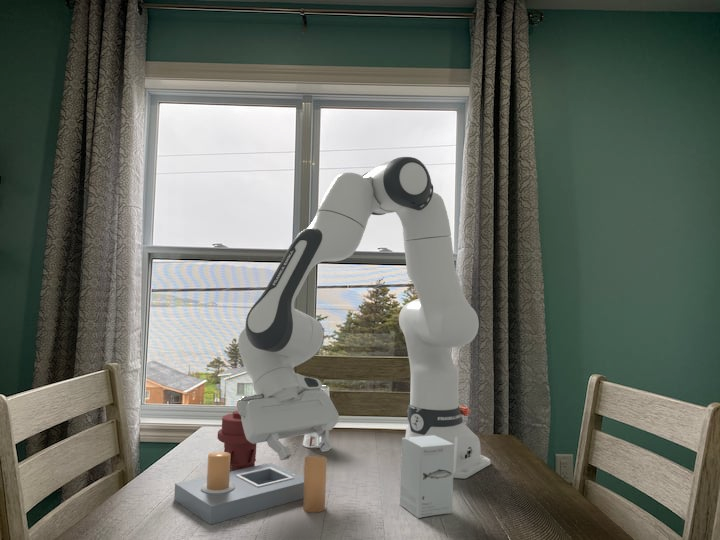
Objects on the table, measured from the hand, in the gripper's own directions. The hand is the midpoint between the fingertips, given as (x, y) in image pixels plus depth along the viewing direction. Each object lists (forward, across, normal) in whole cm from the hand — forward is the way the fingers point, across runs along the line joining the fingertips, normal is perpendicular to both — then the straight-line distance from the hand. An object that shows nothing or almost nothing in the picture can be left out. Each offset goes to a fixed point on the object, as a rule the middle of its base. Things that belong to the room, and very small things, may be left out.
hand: (307, 453), depth 102 cm
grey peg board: (0, -8, +13) cm, 15 cm away
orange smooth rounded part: (+8, 0, +5) cm, 10 cm away
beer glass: (-15, +26, +28) cm, 41 cm away
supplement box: (+18, +16, -4) cm, 24 cm away
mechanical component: (-11, +1, +25) cm, 27 cm away
